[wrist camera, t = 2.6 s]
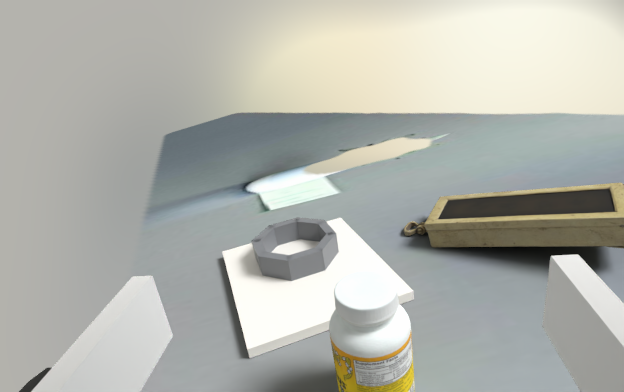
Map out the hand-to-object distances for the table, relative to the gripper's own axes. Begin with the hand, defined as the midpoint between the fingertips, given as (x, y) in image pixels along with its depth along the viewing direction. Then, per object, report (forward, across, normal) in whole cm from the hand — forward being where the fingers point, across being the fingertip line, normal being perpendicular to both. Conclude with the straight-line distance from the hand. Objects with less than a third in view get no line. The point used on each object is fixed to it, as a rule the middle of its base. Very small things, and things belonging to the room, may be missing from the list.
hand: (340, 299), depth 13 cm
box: (+30, +16, -17) cm, 38 cm away
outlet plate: (+25, -7, -17) cm, 31 cm away
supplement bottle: (+10, 0, -17) cm, 20 cm away
